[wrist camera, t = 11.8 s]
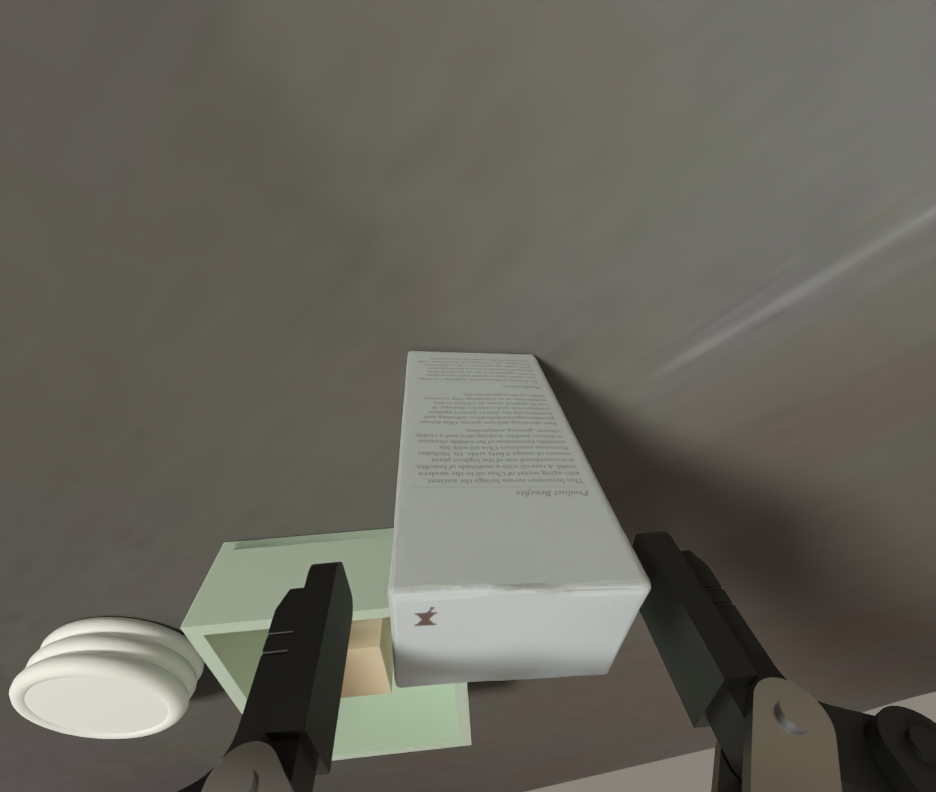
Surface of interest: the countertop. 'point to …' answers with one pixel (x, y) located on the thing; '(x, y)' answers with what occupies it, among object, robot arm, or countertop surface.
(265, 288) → the countertop surface
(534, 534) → the skincare box
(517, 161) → the countertop surface
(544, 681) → the countertop surface
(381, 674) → the maple cube
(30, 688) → the white round ribbed disc
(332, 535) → the tote
